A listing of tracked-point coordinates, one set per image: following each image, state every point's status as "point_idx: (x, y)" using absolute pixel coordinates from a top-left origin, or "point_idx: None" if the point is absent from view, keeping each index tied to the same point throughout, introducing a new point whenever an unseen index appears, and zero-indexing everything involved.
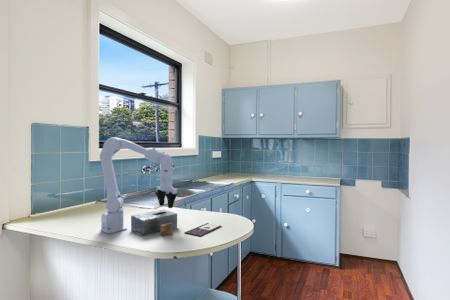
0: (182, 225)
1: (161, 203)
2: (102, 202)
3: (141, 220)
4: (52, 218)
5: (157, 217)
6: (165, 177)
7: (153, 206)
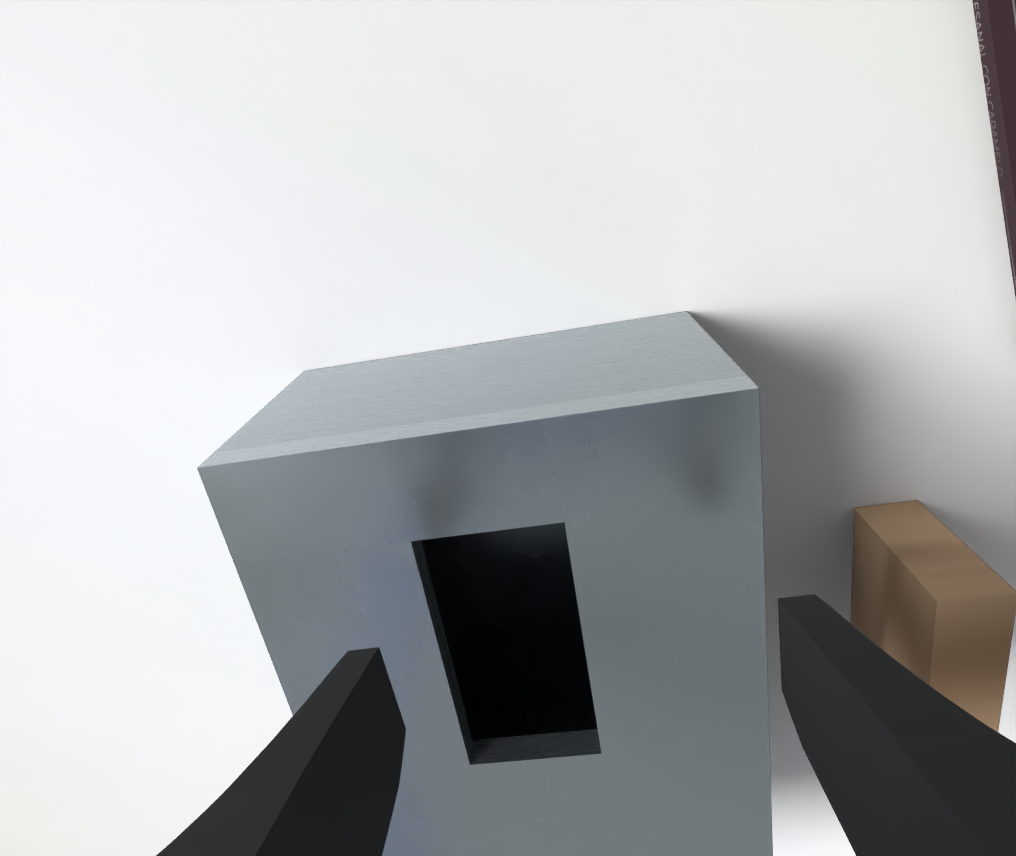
0: (628, 172)
1: (386, 752)
2: None
3: None
4: None
5: (763, 779)
6: None
7: None
